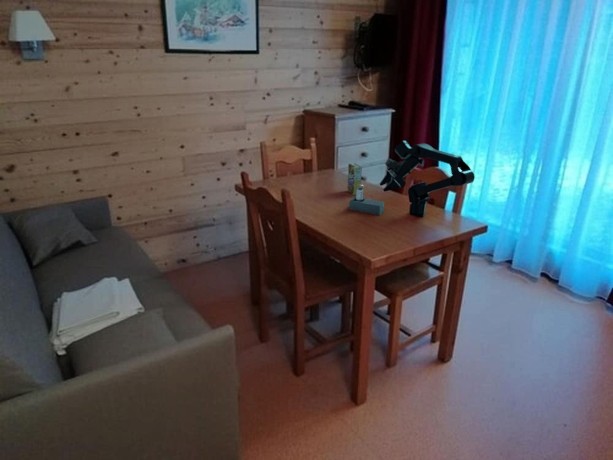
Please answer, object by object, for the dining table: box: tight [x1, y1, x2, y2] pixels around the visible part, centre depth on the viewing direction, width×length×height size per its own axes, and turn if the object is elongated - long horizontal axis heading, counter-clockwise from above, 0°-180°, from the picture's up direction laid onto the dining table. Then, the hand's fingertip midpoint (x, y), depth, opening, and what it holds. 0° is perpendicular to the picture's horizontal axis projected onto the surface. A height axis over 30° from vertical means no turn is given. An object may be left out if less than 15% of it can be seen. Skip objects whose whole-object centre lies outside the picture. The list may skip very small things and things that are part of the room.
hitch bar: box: [348, 196, 385, 216], centre depth 217 cm, size 15×7×4 cm, turn 64°
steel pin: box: [355, 183, 364, 202], centre depth 217 cm, size 3×3×12 cm
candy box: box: [347, 162, 363, 196], centre depth 240 cm, size 9×4×15 cm, turn 17°
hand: (381, 187), depth 214 cm, fingers open, 9 cm apart
